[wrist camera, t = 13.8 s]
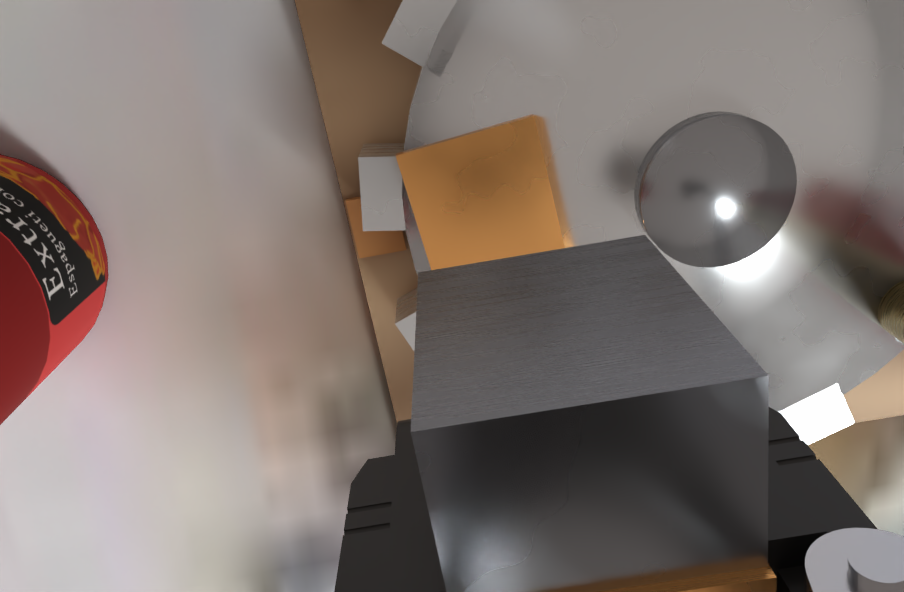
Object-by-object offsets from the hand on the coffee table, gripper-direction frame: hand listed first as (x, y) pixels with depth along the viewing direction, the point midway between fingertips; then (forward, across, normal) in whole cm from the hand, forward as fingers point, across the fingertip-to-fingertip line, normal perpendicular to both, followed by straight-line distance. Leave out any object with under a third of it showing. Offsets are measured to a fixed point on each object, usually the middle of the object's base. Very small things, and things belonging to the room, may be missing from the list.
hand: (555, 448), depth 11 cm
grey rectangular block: (0, 0, 0) cm, 0 cm away
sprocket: (+14, -6, 0) cm, 16 cm away
